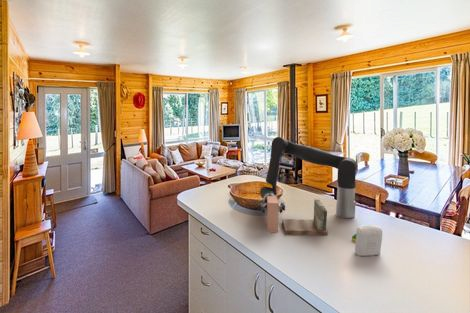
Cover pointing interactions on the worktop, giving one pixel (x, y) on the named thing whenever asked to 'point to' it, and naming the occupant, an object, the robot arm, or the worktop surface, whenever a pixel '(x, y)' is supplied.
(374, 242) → the photo printer
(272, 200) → the terracotta book
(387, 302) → the worktop surface
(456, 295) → the worktop surface
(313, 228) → the shelf ledge
